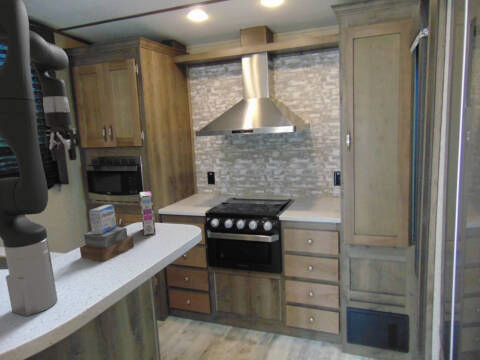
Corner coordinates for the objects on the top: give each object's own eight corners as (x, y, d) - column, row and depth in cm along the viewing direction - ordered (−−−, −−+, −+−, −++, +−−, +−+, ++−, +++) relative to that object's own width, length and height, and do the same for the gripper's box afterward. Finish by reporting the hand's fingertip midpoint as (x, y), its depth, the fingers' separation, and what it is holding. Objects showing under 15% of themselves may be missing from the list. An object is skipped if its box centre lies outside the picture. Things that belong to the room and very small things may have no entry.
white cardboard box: (156, 234, 140) (152, 195, 138) (143, 236, 139) (139, 196, 136) (154, 226, 151) (150, 190, 148) (143, 228, 149) (138, 191, 147)
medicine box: (102, 234, 117) (99, 210, 116) (91, 234, 118) (88, 210, 117) (116, 227, 125) (113, 204, 123) (106, 227, 126) (103, 204, 124)
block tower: (103, 261, 114) (100, 238, 113) (81, 257, 119) (78, 235, 118) (133, 247, 126) (131, 226, 125) (112, 244, 131) (109, 224, 130)
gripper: (32, 113, 113) (40, 161, 116) (61, 109, 106) (68, 161, 109) (54, 113, 119) (61, 159, 122) (81, 109, 113) (88, 158, 116)
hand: (64, 160), depth 116 cm, fingers open, 8 cm apart
